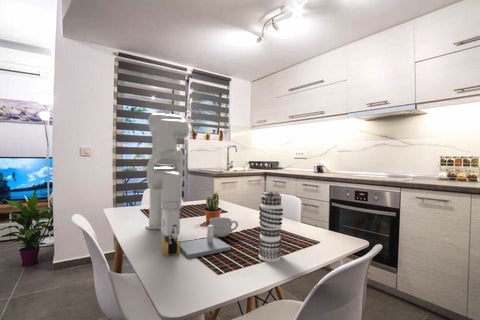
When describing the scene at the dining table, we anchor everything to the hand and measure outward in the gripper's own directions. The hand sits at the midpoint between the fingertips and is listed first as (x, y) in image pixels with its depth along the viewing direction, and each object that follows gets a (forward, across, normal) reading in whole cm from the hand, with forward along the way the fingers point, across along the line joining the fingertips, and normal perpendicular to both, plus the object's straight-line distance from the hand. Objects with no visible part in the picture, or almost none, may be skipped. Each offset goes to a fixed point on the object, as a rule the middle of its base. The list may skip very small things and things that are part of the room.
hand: (170, 250), depth 95 cm
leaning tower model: (+1, +22, +32) cm, 39 cm away
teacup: (+1, -9, +28) cm, 29 cm away
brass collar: (+1, 0, 0) cm, 1 cm away
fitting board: (+1, +2, +13) cm, 13 cm away
